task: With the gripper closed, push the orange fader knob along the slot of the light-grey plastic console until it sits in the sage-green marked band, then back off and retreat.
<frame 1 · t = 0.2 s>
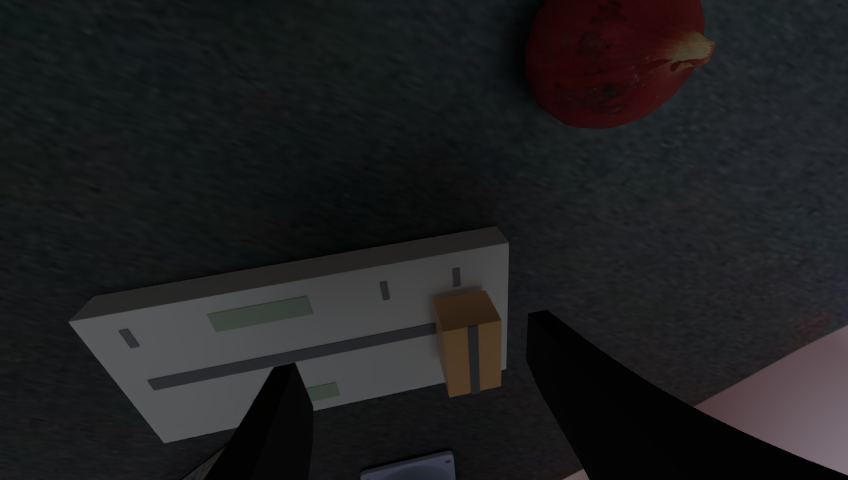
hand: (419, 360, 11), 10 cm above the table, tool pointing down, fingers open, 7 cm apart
fader knob: (467, 344, 20), point 4 cm above the table, slide at 0.0 cm
onion: (555, 47, 17), on the table
crayon box: (219, 467, 28), on the table
fader console: (327, 325, 23), on the table
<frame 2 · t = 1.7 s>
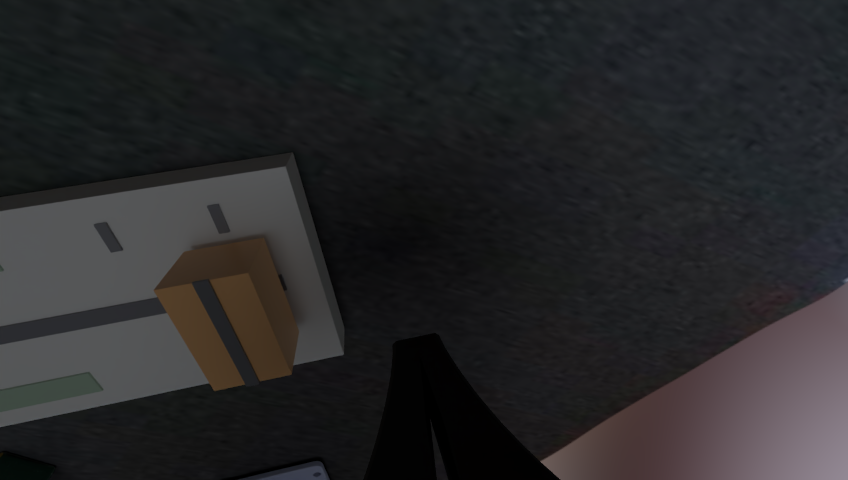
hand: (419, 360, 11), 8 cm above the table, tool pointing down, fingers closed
fader knob: (238, 315, 14), point 4 cm above the table, slide at 0.0 cm
fader console: (81, 296, 17), on the table
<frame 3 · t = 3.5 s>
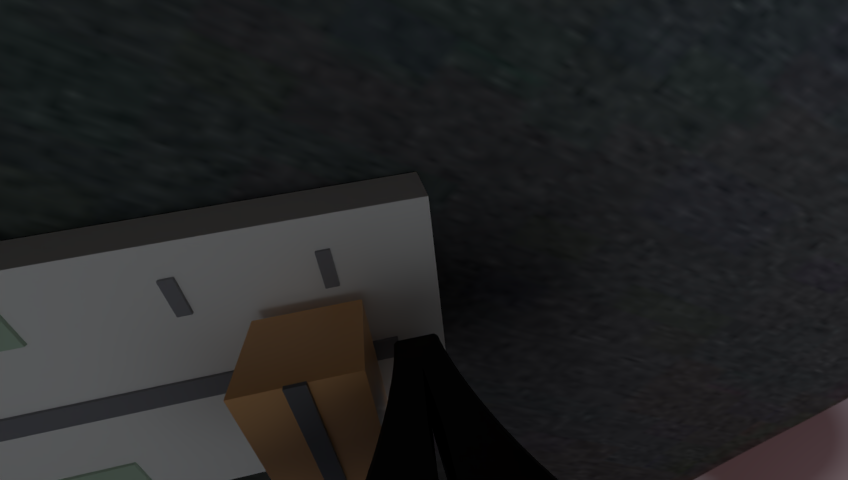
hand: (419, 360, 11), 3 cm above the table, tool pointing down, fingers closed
fader knob: (327, 408, 10), point 4 cm above the table, slide at 0.8 cm, touching gripper
fader console: (124, 359, 13), on the table
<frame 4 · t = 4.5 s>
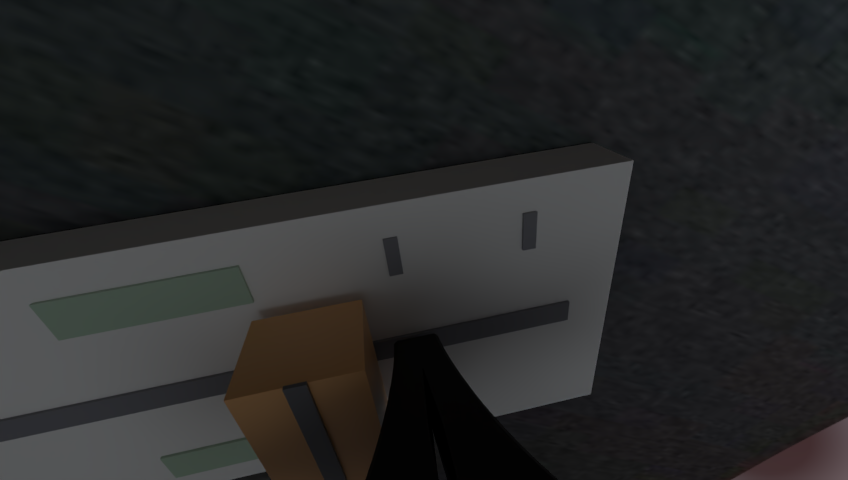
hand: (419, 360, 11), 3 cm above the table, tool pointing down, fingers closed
fader knob: (327, 408, 10), point 4 cm above the table, slide at 6.6 cm, touching gripper
fader console: (293, 326, 13), on the table
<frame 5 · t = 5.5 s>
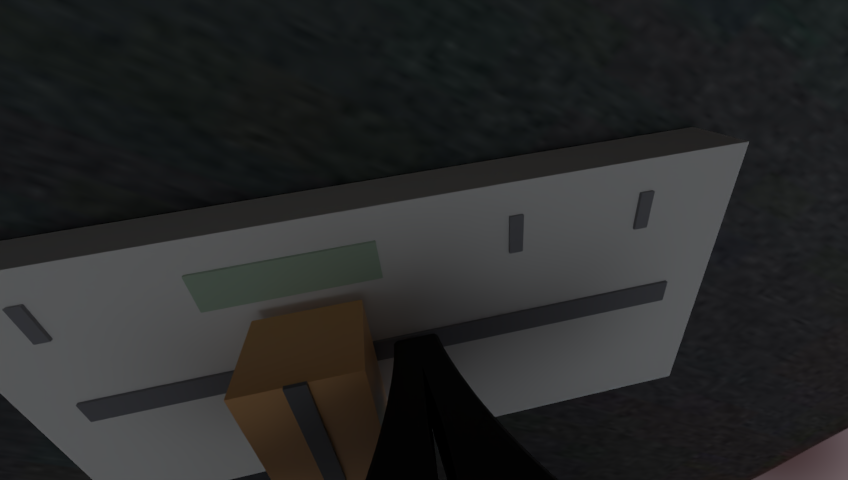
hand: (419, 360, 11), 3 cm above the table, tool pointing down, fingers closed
fader knob: (327, 408, 10), point 4 cm above the table, slide at 10.2 cm, touching gripper
fader console: (390, 306, 14), on the table
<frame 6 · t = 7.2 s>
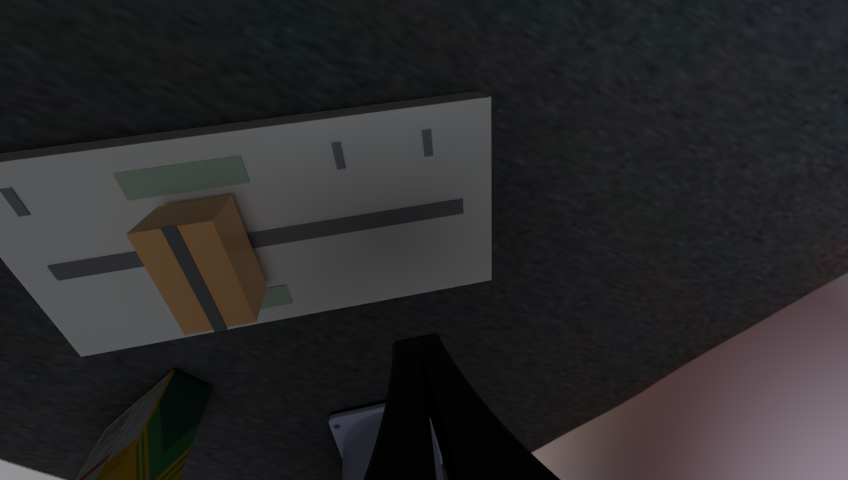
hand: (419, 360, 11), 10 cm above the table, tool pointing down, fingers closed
fader knob: (207, 265, 16), point 4 cm above the table, slide at 10.3 cm
crayon box: (162, 404, 24), on the table
fader console: (277, 219, 19), on the table
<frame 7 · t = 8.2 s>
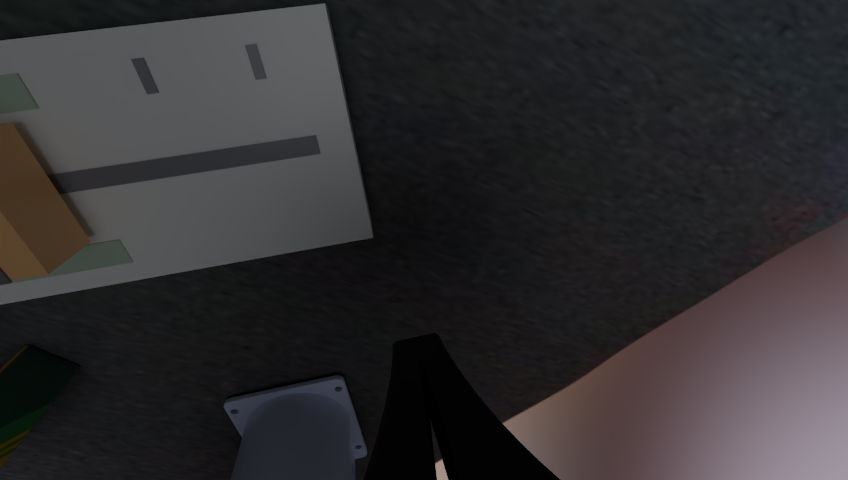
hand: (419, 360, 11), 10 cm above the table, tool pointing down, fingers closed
crayon box: (26, 386, 22), on the table
fader console: (111, 165, 16), on the table
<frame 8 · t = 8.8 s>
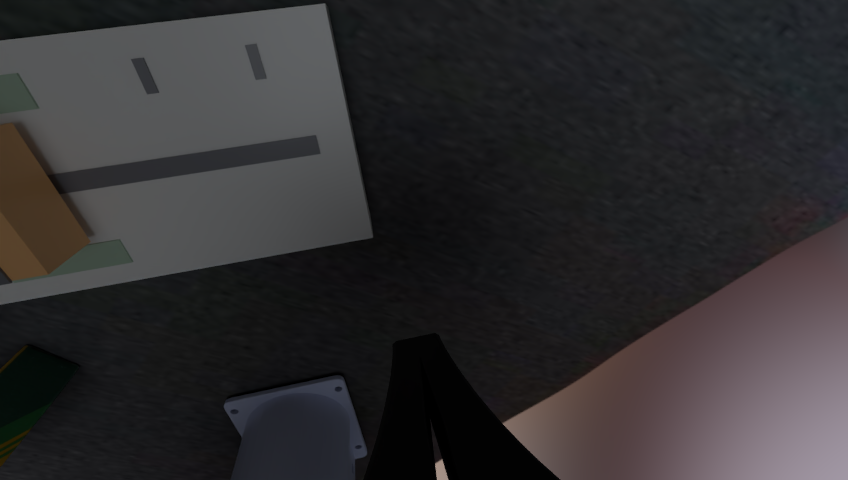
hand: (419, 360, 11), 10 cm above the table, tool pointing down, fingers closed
crayon box: (26, 386, 22), on the table
fader console: (111, 165, 16), on the table
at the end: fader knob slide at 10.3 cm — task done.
